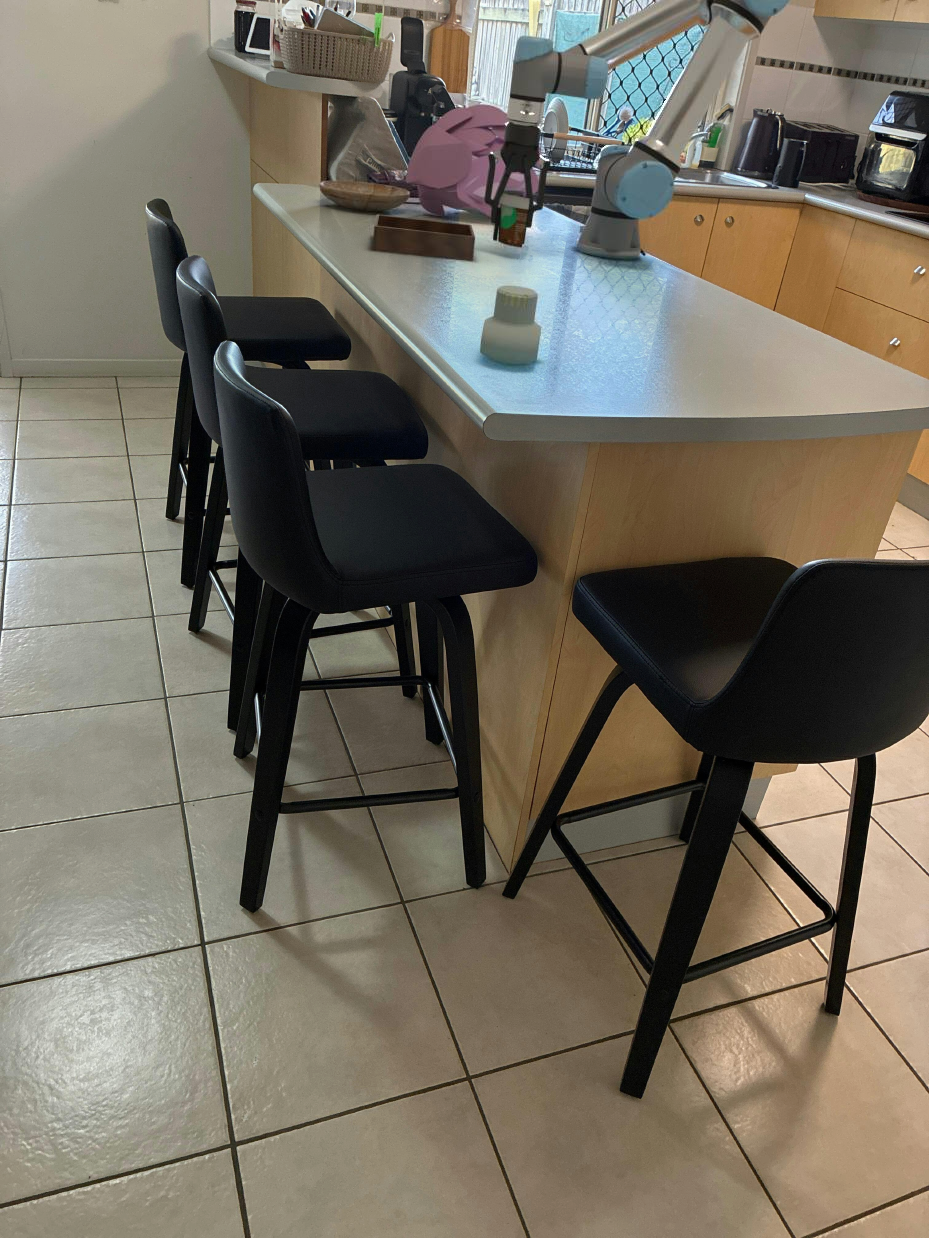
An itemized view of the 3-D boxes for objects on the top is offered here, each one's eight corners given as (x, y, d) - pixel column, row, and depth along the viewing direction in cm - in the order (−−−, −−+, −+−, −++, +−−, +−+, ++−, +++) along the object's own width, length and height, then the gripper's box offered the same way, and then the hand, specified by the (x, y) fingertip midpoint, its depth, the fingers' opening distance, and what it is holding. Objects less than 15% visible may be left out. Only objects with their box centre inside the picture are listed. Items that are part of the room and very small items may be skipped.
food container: (490, 235, 208) (497, 187, 202) (517, 238, 208) (524, 191, 203) (494, 245, 197) (501, 195, 192) (522, 249, 198) (529, 199, 193)
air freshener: (483, 346, 139) (491, 278, 134) (537, 354, 139) (547, 286, 134) (477, 366, 130) (485, 294, 125) (534, 374, 130) (545, 302, 124)
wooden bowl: (425, 212, 242) (427, 192, 239) (371, 219, 225) (372, 197, 222) (357, 197, 251) (357, 177, 249) (299, 202, 234) (300, 181, 231)
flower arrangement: (521, 235, 257) (540, 124, 248) (545, 234, 236) (568, 112, 227) (399, 211, 248) (415, 95, 239) (413, 206, 227) (431, 79, 218)
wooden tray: (469, 247, 207) (471, 224, 204) (472, 261, 194) (475, 237, 192) (375, 237, 205) (376, 214, 202) (372, 250, 192) (374, 226, 189)
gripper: (481, 119, 186) (468, 239, 199) (569, 130, 188) (551, 249, 200) (479, 116, 193) (466, 233, 205) (564, 127, 195) (547, 243, 207)
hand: (508, 241), depth 203 cm, fingers closed on food container, 5 cm apart
